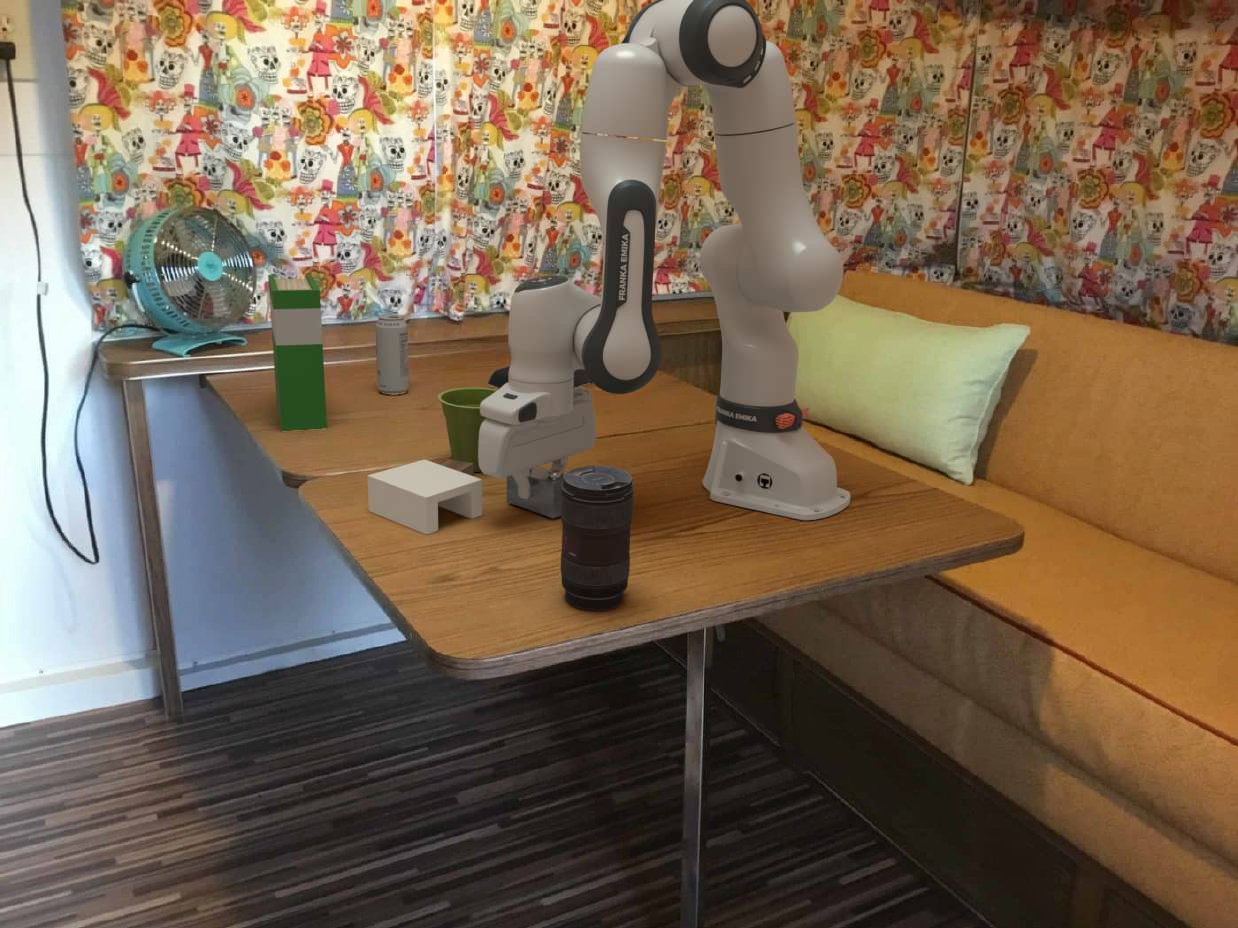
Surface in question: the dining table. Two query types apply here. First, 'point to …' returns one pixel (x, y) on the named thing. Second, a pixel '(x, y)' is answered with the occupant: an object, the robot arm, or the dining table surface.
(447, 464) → the walnut block
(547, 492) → the block
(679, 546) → the dining table surface
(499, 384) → the external hard drive
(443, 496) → the stand
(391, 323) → the energy drink can
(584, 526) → the camera lens
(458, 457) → the plant pot
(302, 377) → the hardback book
